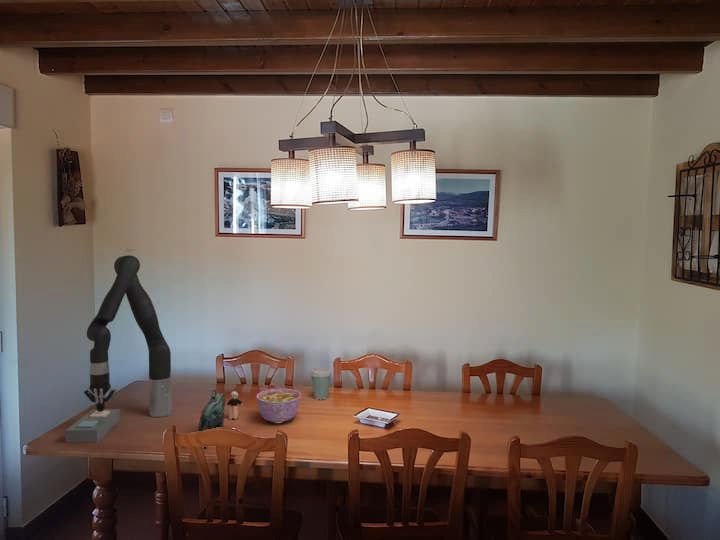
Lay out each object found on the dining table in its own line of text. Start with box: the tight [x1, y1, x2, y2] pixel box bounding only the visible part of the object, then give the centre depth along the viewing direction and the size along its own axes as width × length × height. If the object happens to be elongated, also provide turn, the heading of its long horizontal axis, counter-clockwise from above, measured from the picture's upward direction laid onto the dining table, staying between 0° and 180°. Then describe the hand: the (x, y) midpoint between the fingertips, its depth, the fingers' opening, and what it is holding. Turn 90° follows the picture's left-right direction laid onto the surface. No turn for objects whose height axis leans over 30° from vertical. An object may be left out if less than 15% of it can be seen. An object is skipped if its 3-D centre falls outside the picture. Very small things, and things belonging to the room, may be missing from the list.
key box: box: [65, 408, 121, 444], centre depth 219 cm, size 12×24×5 cm, turn 4°
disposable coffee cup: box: [310, 367, 332, 399], centre depth 267 cm, size 11×11×15 cm
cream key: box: [90, 411, 110, 417], centre depth 225 cm, size 6×6×3 cm
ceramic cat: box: [198, 389, 226, 432], centre depth 212 cm, size 20×6×20 cm, turn 174°
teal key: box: [77, 421, 99, 428], centre depth 213 cm, size 6×6×3 cm
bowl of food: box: [255, 388, 302, 423], centre depth 235 cm, size 20×20×12 cm
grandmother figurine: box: [225, 391, 244, 420], centre depth 236 cm, size 8×4×13 cm, turn 118°
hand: (100, 411), depth 224 cm, fingers closed
